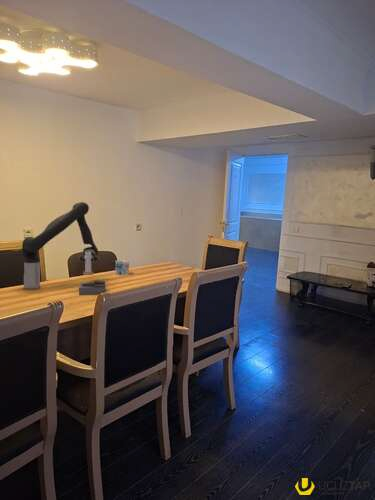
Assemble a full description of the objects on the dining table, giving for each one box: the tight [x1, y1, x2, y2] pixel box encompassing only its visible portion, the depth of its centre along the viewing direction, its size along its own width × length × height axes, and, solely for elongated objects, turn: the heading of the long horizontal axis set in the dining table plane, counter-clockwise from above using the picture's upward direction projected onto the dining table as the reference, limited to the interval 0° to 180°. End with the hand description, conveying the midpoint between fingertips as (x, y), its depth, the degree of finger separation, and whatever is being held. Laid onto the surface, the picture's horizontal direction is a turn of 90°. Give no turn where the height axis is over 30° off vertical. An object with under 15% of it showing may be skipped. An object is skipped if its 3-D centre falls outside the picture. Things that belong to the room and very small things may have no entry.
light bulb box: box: [114, 259, 130, 276], centre depth 279 cm, size 11×7×11 cm, turn 105°
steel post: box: [82, 251, 94, 276], centre depth 221 cm, size 6×6×15 cm
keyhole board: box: [78, 280, 106, 296], centre depth 224 cm, size 16×12×6 cm
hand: (88, 260), depth 218 cm, fingers closed on steel post, 3 cm apart
